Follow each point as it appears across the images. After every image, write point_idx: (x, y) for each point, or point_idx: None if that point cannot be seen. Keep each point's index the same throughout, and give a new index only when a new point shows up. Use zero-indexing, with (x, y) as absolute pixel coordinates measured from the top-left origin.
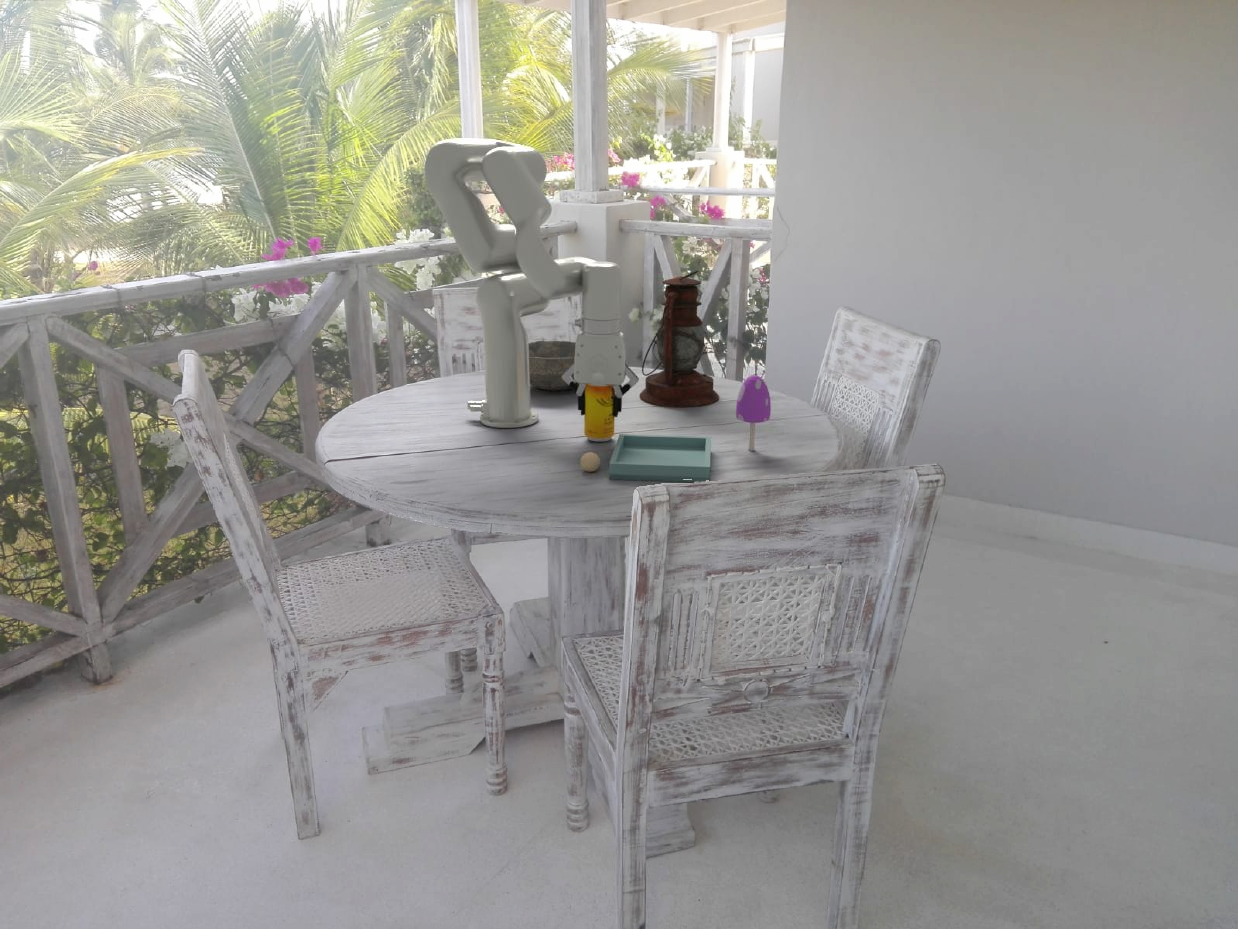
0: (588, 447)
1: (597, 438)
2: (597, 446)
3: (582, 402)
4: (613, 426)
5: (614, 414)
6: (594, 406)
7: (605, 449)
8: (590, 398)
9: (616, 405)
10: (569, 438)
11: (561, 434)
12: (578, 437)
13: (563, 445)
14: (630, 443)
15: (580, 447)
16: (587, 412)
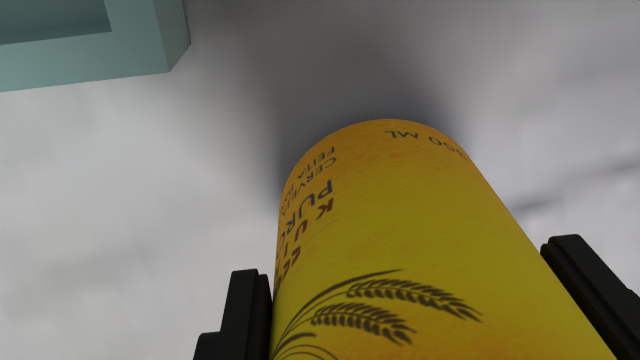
0: (418, 22)
1: (374, 121)
2: (359, 59)
3: (629, 314)
4: (277, 242)
5: (252, 277)
6: (469, 253)
7: (287, 2)
8: (561, 327)
9: (223, 347)
10: (567, 180)
11: (620, 240)
12: (512, 210)
13: (600, 28)
14: (80, 26)
15: (475, 9)
16: (522, 237)
